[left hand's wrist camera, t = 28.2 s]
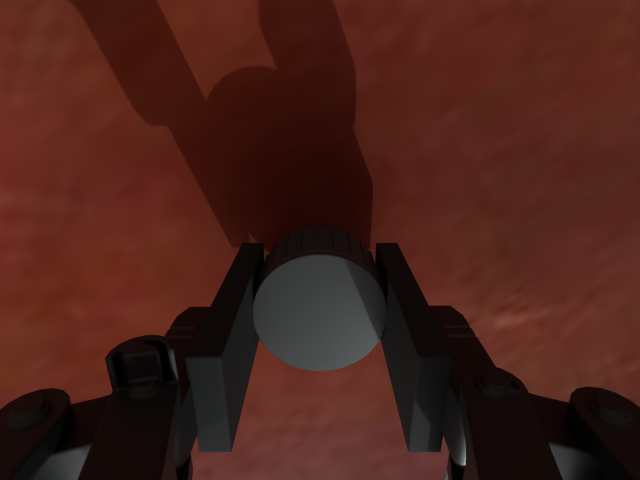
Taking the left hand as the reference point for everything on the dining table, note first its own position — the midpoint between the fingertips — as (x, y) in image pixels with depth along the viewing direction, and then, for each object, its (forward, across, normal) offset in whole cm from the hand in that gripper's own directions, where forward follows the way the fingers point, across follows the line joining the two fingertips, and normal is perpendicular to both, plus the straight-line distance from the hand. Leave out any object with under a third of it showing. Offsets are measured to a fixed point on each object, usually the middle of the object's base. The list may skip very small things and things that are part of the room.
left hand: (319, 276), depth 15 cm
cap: (0, 0, 0) cm, 0 cm away
